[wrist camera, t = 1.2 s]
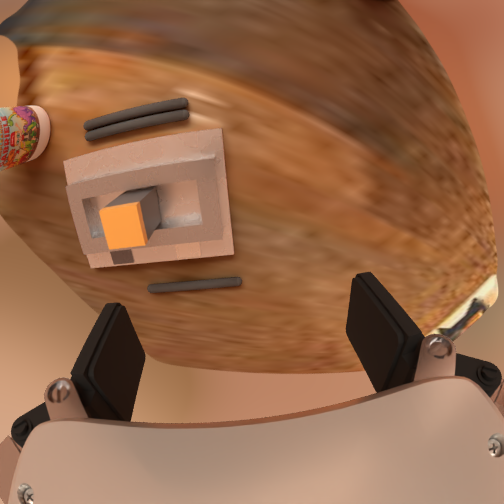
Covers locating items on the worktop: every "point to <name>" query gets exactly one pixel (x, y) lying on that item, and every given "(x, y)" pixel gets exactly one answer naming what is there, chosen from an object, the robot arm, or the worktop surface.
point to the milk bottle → (22, 134)
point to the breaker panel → (168, 193)
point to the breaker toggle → (131, 218)
